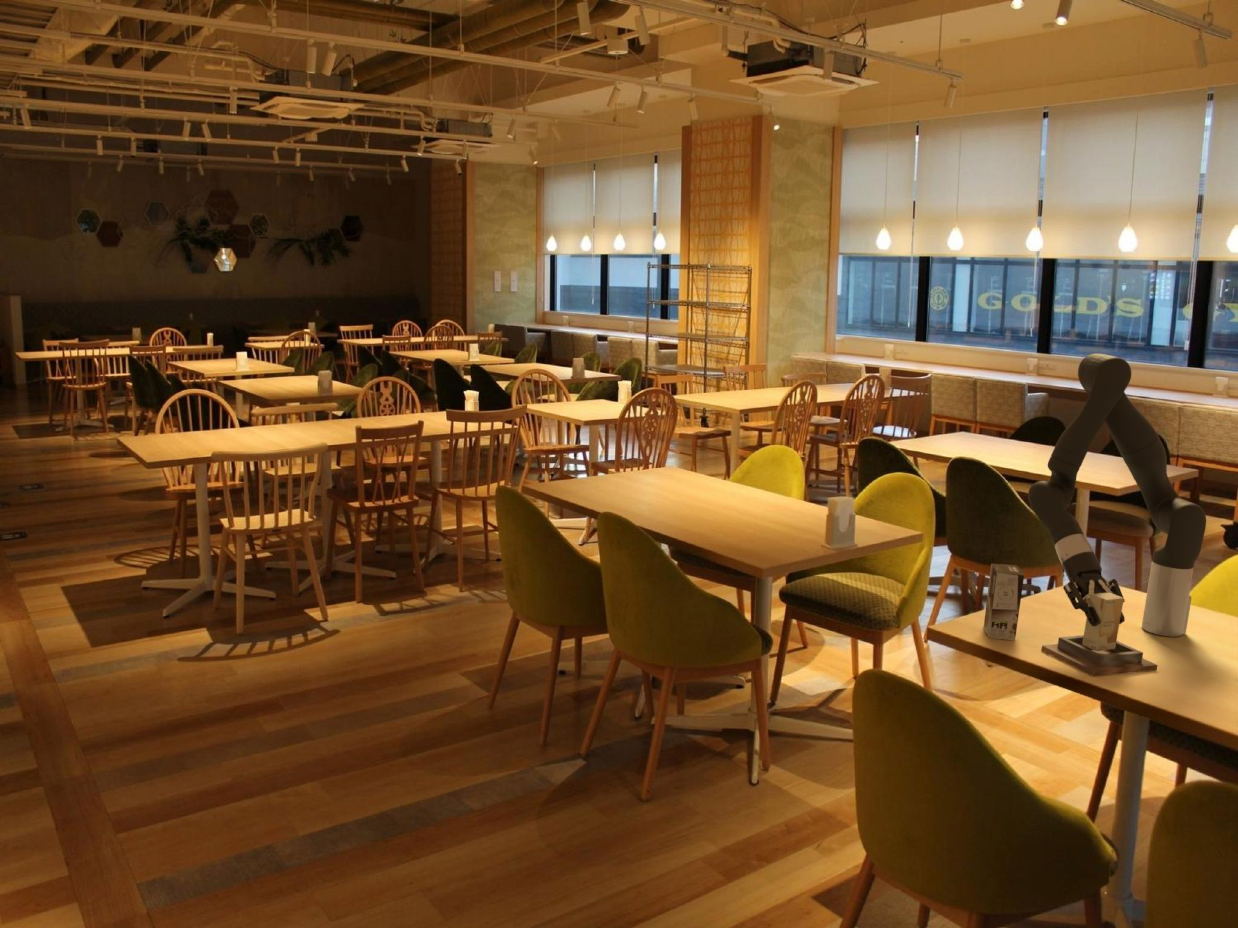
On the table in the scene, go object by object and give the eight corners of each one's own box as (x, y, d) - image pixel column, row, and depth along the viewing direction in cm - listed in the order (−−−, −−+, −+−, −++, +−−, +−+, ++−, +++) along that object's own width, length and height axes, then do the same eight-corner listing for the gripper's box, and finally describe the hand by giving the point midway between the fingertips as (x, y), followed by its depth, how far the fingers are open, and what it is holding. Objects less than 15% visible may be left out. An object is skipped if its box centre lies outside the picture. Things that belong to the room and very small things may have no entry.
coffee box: (1016, 641, 253) (1025, 575, 250) (987, 637, 254) (996, 572, 251) (1010, 628, 261) (1018, 564, 258) (982, 625, 263) (990, 562, 260)
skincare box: (1097, 652, 239) (1105, 599, 237) (1081, 645, 243) (1089, 593, 241) (1116, 648, 242) (1125, 597, 240) (1100, 642, 246) (1108, 591, 244)
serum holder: (1102, 644, 254) (1104, 630, 253) (1156, 669, 239) (1159, 654, 238) (1041, 650, 247) (1043, 635, 247) (1093, 676, 233) (1096, 660, 232)
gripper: (1063, 551, 243) (1094, 618, 234) (1112, 549, 248) (1144, 614, 240) (1043, 567, 249) (1073, 632, 240) (1091, 564, 254) (1122, 629, 245)
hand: (1108, 623), depth 240 cm, fingers closed on skincare box, 6 cm apart
